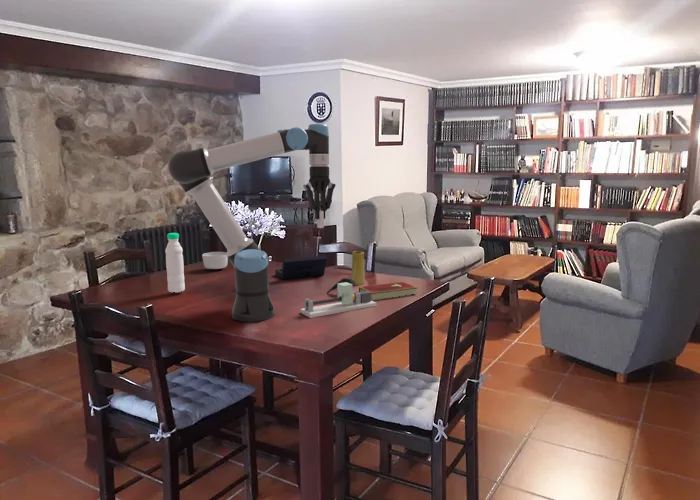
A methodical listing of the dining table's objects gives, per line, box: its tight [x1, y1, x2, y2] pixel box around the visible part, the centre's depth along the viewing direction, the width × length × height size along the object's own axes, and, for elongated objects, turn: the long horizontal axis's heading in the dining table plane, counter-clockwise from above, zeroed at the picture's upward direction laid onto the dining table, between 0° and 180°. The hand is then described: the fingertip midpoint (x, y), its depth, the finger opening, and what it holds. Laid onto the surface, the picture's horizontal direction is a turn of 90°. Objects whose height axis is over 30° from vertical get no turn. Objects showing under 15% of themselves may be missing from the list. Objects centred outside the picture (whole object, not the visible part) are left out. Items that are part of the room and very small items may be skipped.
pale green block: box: [336, 282, 354, 304], centre depth 205 cm, size 4×4×7 cm
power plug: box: [326, 277, 356, 294], centre depth 227 cm, size 6×8×12 cm
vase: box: [351, 250, 366, 286], centre depth 244 cm, size 6×6×14 cm
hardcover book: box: [358, 281, 418, 301], centre depth 224 cm, size 12×21×4 cm, turn 114°
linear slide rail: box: [300, 290, 377, 319], centre depth 204 cm, size 28×8×6 cm, turn 121°
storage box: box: [274, 255, 327, 280], centre depth 263 cm, size 21×16×10 cm
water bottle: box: [164, 232, 186, 293], centre depth 233 cm, size 7×7×25 cm
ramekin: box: [201, 251, 229, 270], centre depth 285 cm, size 13×13×7 cm
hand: (320, 227), depth 211 cm, fingers closed
